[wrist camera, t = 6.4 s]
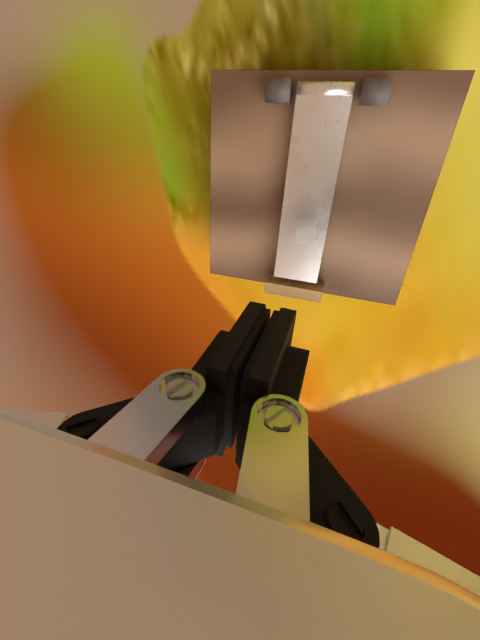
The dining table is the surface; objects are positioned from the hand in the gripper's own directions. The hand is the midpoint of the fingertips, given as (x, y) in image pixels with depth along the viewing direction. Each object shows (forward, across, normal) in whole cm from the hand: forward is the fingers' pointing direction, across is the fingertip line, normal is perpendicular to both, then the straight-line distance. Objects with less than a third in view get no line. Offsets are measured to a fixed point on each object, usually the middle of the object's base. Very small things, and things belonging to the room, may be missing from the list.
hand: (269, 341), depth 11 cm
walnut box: (+18, +1, -3) cm, 18 cm away
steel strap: (+12, +1, -3) cm, 13 cm away
